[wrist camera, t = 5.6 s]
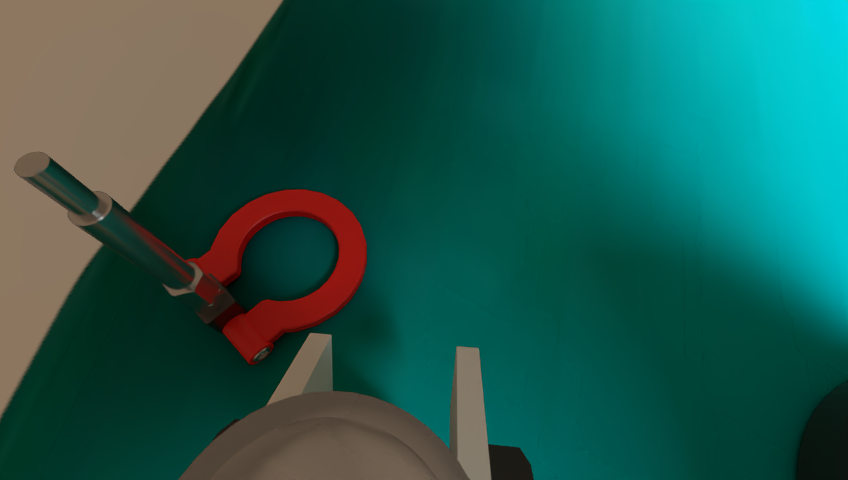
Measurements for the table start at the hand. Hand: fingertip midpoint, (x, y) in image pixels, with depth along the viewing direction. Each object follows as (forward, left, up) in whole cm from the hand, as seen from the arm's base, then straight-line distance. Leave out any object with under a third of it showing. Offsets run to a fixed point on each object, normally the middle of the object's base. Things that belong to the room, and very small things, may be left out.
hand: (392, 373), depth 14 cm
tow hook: (+9, 0, -7) cm, 11 cm away
